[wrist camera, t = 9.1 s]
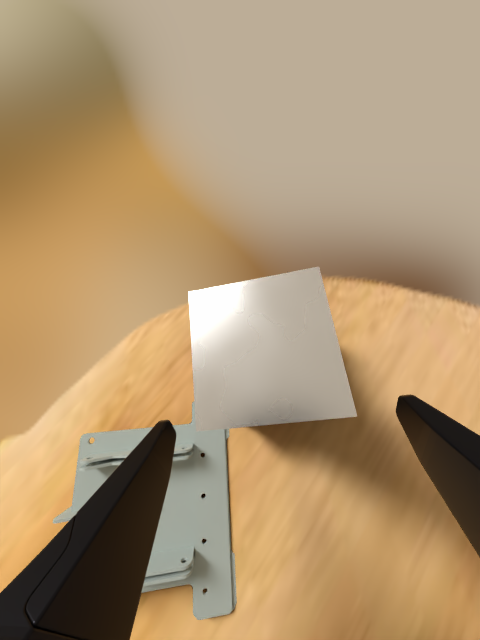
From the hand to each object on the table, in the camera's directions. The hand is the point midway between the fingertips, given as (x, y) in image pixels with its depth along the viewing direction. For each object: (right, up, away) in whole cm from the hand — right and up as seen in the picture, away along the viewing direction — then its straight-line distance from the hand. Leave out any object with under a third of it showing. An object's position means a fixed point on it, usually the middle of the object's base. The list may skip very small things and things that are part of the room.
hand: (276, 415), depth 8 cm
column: (+1, +1, +6) cm, 6 cm away
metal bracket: (-8, -12, +11) cm, 18 cm away
